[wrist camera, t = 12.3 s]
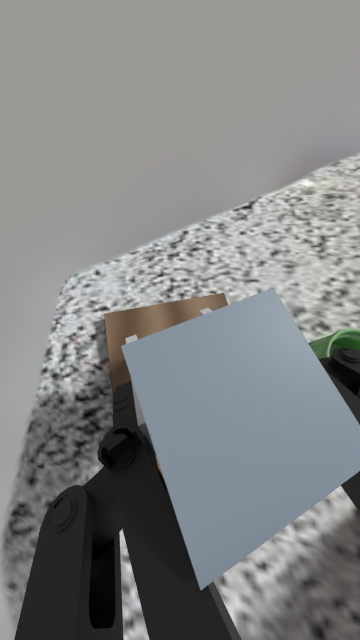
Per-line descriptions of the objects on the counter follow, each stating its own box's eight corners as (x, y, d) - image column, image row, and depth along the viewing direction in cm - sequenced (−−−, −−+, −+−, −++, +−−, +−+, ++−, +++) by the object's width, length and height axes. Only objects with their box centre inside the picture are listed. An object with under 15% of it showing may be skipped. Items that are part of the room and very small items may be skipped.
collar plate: (220, 297, 25) (230, 283, 21) (272, 455, 19) (298, 474, 16) (108, 317, 23) (96, 305, 19) (128, 504, 17) (118, 541, 13)
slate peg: (199, 347, 17) (273, 288, 6) (222, 398, 16) (379, 455, 4) (150, 368, 16) (120, 346, 5) (171, 424, 15) (200, 590, 3)
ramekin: (365, 412, 22) (412, 420, 18) (298, 395, 22) (329, 399, 18) (358, 344, 25) (396, 338, 21) (298, 329, 25) (325, 320, 21)
